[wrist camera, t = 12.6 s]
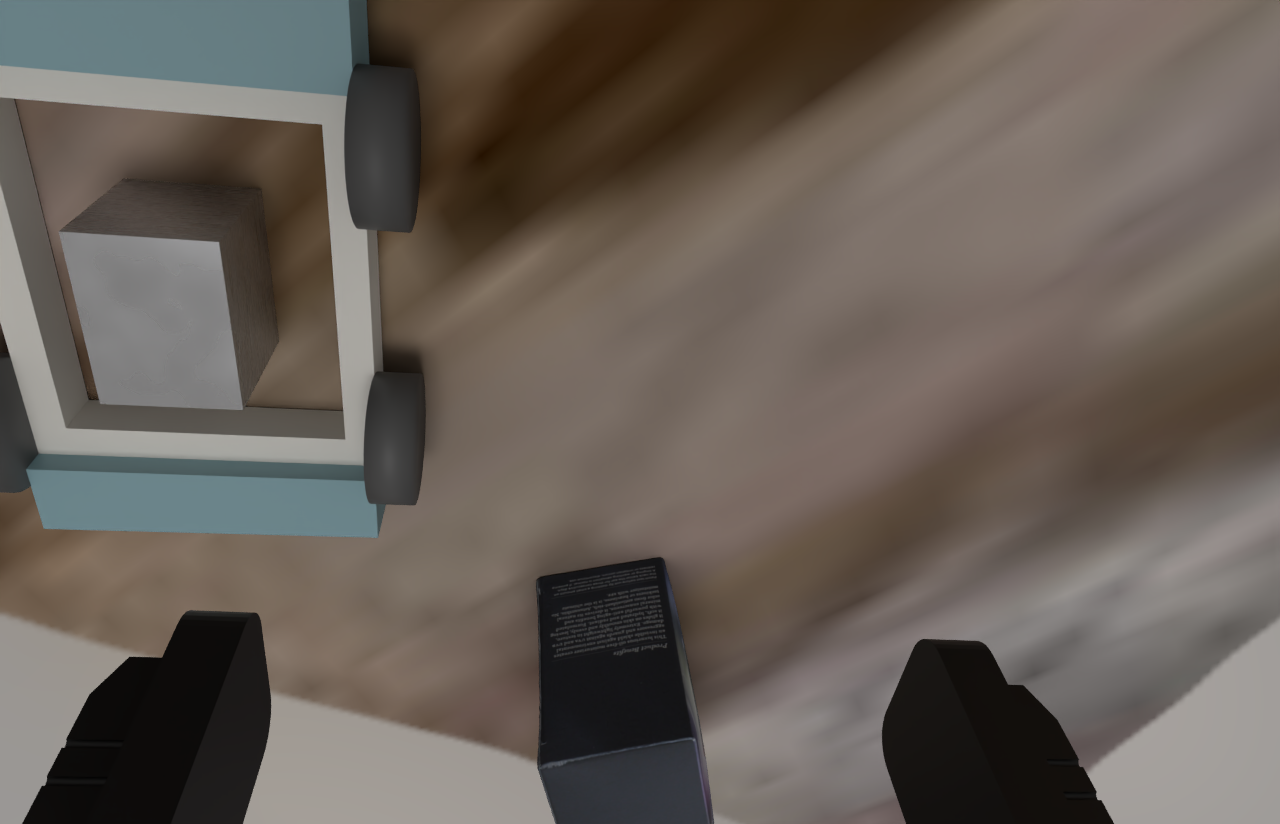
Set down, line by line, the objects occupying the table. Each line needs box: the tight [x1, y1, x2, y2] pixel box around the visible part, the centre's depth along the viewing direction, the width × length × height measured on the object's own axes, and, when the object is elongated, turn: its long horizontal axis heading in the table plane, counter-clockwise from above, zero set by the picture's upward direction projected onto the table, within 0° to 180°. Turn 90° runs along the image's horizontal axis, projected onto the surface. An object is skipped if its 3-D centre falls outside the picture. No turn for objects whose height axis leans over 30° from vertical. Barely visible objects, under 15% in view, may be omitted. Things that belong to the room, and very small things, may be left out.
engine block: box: [59, 179, 279, 410], centre depth 31 cm, size 6×4×5 cm
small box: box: [536, 558, 714, 824], centre depth 41 cm, size 11×6×10 cm, turn 8°
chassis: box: [0, 0, 426, 538], centre depth 31 cm, size 20×16×5 cm
